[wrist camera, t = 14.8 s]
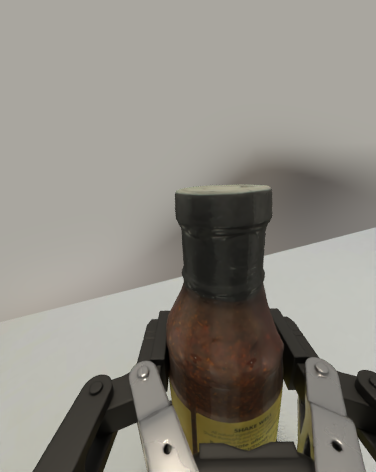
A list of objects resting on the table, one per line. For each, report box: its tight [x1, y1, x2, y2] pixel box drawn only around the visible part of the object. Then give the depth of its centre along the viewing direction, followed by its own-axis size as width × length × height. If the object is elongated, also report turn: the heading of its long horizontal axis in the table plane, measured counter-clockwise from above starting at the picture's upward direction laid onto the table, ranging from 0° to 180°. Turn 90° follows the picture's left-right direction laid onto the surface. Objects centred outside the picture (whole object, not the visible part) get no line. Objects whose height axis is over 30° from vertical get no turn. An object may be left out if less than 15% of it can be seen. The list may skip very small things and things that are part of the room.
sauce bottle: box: [166, 185, 284, 455], centre depth 11 cm, size 7×6×20 cm
